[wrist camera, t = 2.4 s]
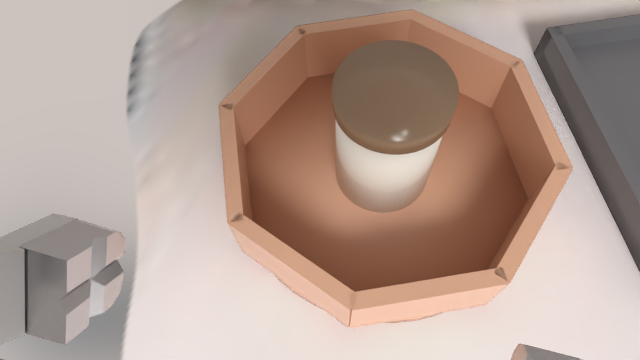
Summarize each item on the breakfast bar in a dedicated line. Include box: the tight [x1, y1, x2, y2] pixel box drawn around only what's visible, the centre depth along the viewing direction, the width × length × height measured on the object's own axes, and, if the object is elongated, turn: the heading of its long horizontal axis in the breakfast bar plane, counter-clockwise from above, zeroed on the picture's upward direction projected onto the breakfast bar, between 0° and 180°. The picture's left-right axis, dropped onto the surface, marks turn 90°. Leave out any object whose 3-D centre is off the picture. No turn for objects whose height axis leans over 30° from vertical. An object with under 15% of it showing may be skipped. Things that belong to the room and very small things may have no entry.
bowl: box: [219, 10, 573, 328], centre depth 28 cm, size 18×18×5 cm
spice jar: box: [332, 40, 459, 213], centre depth 26 cm, size 6×6×8 cm
